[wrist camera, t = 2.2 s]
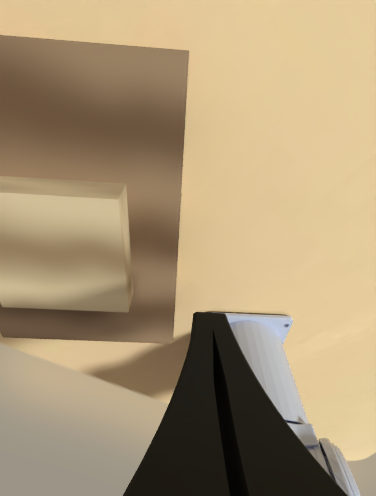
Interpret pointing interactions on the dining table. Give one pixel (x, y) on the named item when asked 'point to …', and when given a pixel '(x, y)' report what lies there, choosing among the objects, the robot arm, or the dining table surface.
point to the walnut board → (101, 163)
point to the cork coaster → (64, 245)
